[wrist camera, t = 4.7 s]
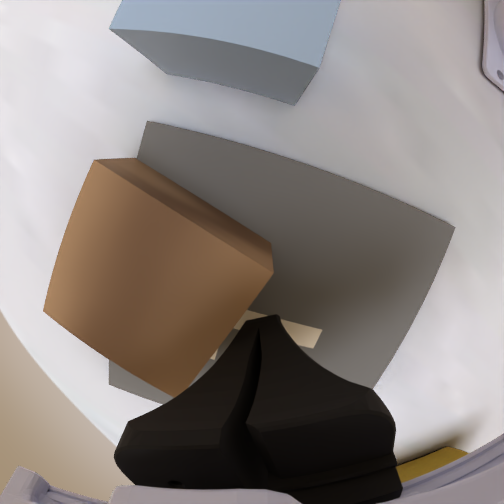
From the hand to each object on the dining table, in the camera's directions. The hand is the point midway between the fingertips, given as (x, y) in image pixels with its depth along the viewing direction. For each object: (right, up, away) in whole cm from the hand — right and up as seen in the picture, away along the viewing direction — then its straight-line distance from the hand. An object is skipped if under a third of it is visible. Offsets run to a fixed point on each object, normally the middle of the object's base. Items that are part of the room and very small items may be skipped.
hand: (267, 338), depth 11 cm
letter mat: (0, 0, +1) cm, 1 cm away
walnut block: (-4, +3, 0) cm, 5 cm away
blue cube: (-1, +12, -2) cm, 12 cm away
